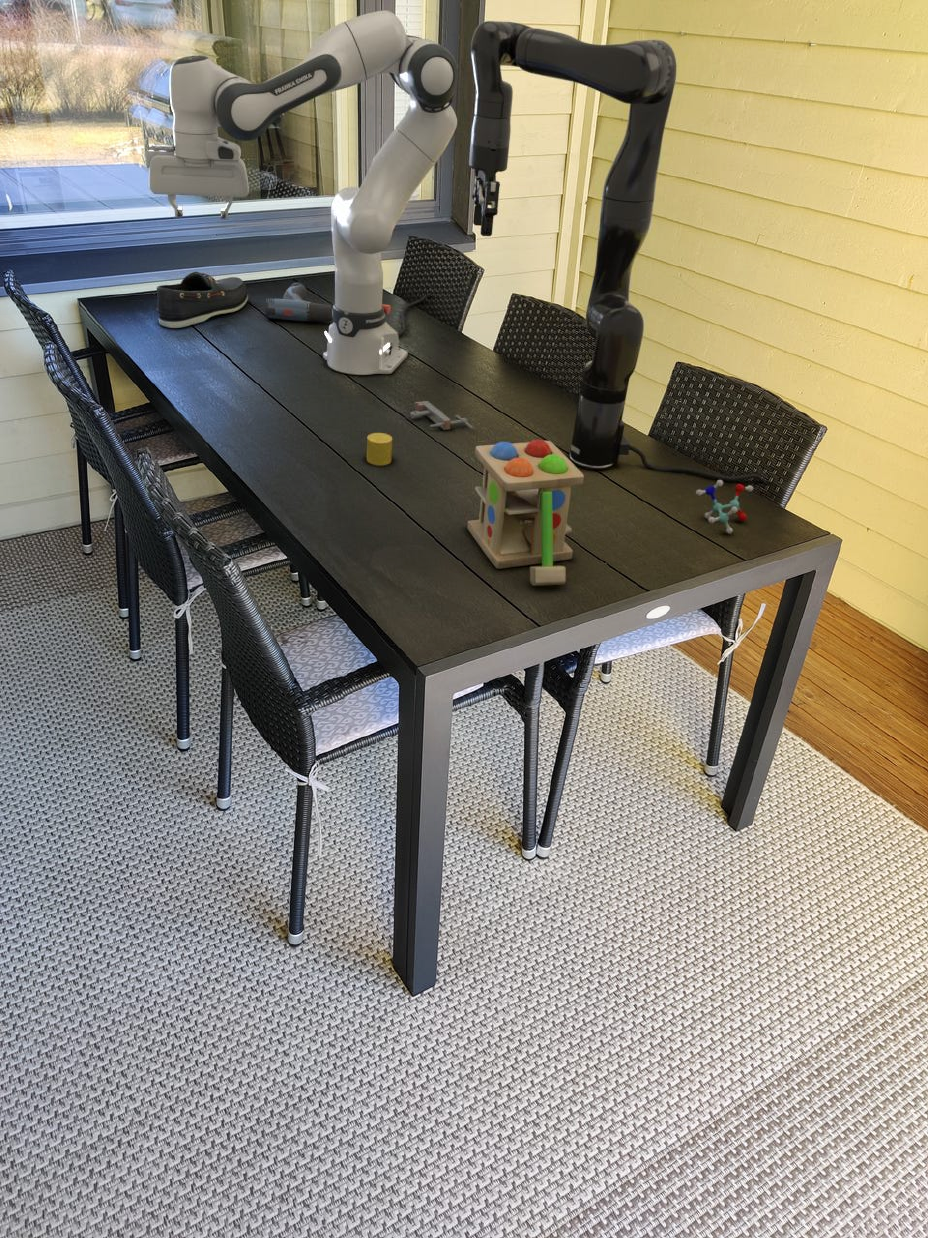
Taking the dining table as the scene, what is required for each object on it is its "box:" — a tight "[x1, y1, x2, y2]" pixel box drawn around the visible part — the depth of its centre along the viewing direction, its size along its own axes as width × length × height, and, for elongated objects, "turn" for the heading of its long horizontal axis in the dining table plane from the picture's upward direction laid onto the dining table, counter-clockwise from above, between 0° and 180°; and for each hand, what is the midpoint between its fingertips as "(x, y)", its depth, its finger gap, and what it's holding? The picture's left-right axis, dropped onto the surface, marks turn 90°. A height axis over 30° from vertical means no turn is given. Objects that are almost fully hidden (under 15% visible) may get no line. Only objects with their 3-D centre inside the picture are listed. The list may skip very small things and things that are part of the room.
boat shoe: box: [155, 271, 249, 329], centre depth 258 cm, size 13×33×10 cm, turn 147°
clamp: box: [409, 400, 476, 432], centre depth 212 cm, size 15×2×10 cm
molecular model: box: [695, 479, 754, 535], centre depth 183 cm, size 12×10×10 cm
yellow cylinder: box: [366, 432, 393, 466], centre depth 194 cm, size 5×5×5 cm
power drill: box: [264, 282, 333, 322], centre depth 265 cm, size 5×19×20 cm
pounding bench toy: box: [466, 439, 585, 587], centre depth 163 cm, size 23×14×18 cm, turn 20°
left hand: (202, 217), depth 208 cm, fingers open, 8 cm apart
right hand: (482, 230), depth 198 cm, fingers open, 8 cm apart
